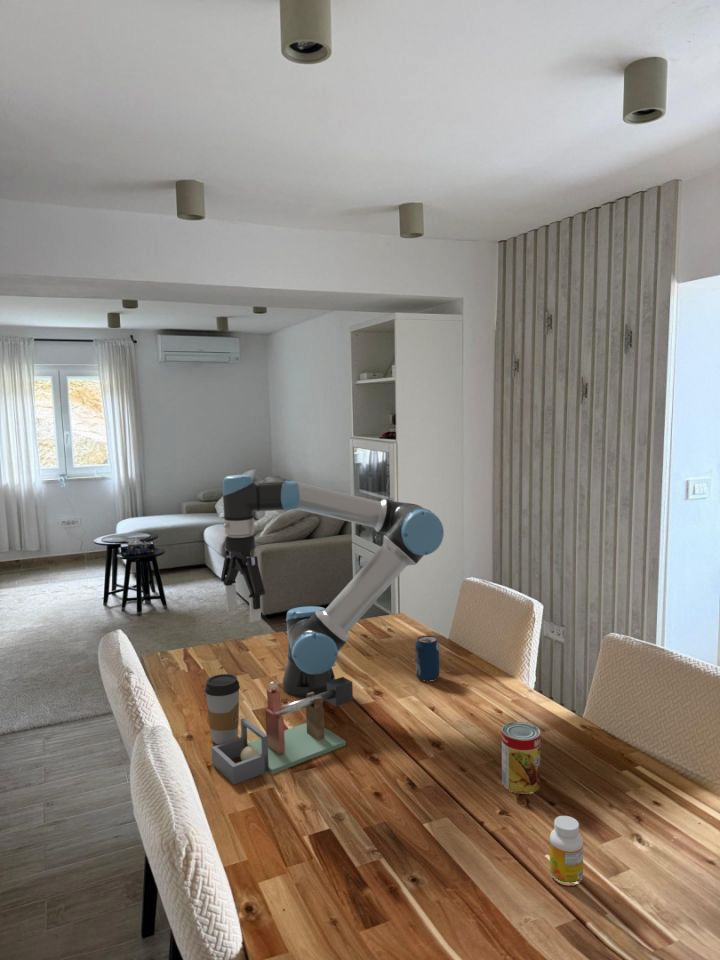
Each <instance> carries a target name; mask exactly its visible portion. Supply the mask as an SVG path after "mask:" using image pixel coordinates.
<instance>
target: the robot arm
mask: <svg viewBox="0 0 720 960" xmlns="http://www.w3.org/2000/svg"><path fill="white" fill-rule="evenodd" d="M222 498H223V501H222V503H223V515H224V516H223V517H224V518H223V519H224V524H223V528H224V534H225V535H226V536H225V538H224V540H225V541H224V543H225V550H224V559H223V566H222V571H221V575H220V582H223V585H224V586H225V587H224V588H225V602H226V603H225V607H226V610H227V611H231V610H235V609H238V603H237V602H238V601H237V584H236V583H237V581H236V578H237V577H238V574H239V573H240V575H242V576H243V578H244V580H245V583H246V586H247V589H248V591H249V595H248V601H249V603H248V605H249V622H250V623H254V622H258V621H261V620H262V612H261V609H262V608H261V596H263V595H265V594H266V591H265V588H264V582H263V580H262V575H261V572H260V567H259V561H258V556H256V555H255V556H252V555H251V552H252V551H253V550H254V549H256V542H255V541H256V540H255V539H256V538H255V535H254V533H255V516H254V512H266V511H267V512H268V511H286V512H287V511H290V510H300V511H304V512H307V513H312V514H315V515H320V516H324V517H327V518H328V517H329V518H333V519H337V520H342V521H345V522H350V523H354V524H359V525H362V526H367V527H371V528H373V529H374V530H375V532H378V533H380V534H384V535H383V544H382V545H381V546H380V547H379V549H378V550H377V551H376V552H375V553H374V554H373V556H371V558H369V560H368V561H367V563H365V565H364V566H363V567H361V568H360V570H359V571H358V572H357V574H355V575H354V576H353V578H352V579H351V580H350V581H349V582H348V583H347V584H346V585H345V587H344V588H343V589H342V590H341V591H340V592H339V593H338V595H337V596H336V597H335V598H334V599H333V600H332V601H331V602H330V603H329V604H328V606H327V607H326V608H325V607H322V606H317V605H316V606H311V605H310V606H300V607H294V608H291V609H289V610H288V611H287V612H286V618H285V621H286V630H287V631H286V634H287V659H288V660H287V664H286V667H285V671H284V675H283V677H282V689H283V690H284V691H285V693H288V694H290V695H294V696H297V697H307V696H306V694H307V693H310V692H314V694H315V695H317V694H320V693H323V692H326V691H327V682H328V681H331V680H335V679H336V676H335V673H334V670H333V667H334V666H335V664H336V662H337V660H338V655H339V652H340V650H341V649H342V648H343V647H344V645H346V644H347V642H348V640H349V638H348V637H349V631H351V629H352V628H353V627H354V626H355V624H357V623H358V621H360V619H361V618H362V617H363V616H364V615H365V613H366V612H367V611H368V610H369V609H370V608H371V607H372V606H373V605H374V603H375V602H376V601H377V600H378V599H379V597H381V596H382V595H383V593H384V592H385V591H386V590H387V589H388V588H389V587H390V586H391V584H392V583H394V582H395V580H396V579H397V578H398V577H399V575H400V574H402V572H403V571H404V570H405V569H406V567H408V566H416V565H417V564H418V563H419V561H420V560H421V559H422V558H423V557H424V556H428V555H430V554H432V553H435V552H436V551H437V550H438V549H439V547H440V546H441V545H442V542H443V539H444V535H445V533H444V526H443V523H442V521H441V519H440V518H439V516H437V515H436V514H435V513H434V512H432V511H431V510H430V509H427V508H424V507H423V506H421V505H418V504H415V503H410V502H402V501H401V502H400V501H394V500H390V499H386V498H385V499H381V500H380V501H379V500H378V501H377V500H374V499H370V498H367V497H361V496H358V495H354V494H353V495H352V494H349V493H345V492H340V491H336V490H331V489H328V488H324V487H321V486H316V485H311V484H309V483H308V484H307V483H303V482H298V481H295V480H290V479H286V478H283V477H282V476H278V475H271V476H268V477H266V478H265V479H263V481H261V482H258V481H257V482H255V481H253V477H252V476H251V475H249V474H234V475H227V476H226V477H224V479H223V480H222Z"/></svg>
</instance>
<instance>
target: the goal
mask: <svg viewBox="0 0 720 960" xmlns="http://www.w3.org/2000/svg"><path fill="white" fill-rule="evenodd" d="M248 730H250V731H251V732H252V733H253V734H255V735H256V736H257V737H258V738H260V739H261V742H262V754H260V755H258V756H255V757H252V758H249V759H247V760H244V761H239V762H236V763H235V762H234V761H233V760H234V759H237V758H239V757H240V758H241V752H242V750H243V749H244V748H245V747H248ZM240 735H241V736H240V737H237V739H234V740H231V741H228V742H225V743H222V744H216V745H214V746H211V763H212V765H213V766H214V767H215V769H217V770H218V771H219V772H220V773H221V774H222V775H224V777H226V779H227V780H229V781H230V783H231V784H233V786H234V785H237V784H240V783H243V782H245V781H248V780H249V779H253V778H255V777H257V776H260V775H263V774H266V773H268V772H269V763H268V738H267V735H266V732H265V733H264V732H263V731H262V730H261V729H259V728H258V727H257V726H255V724H253V723H251V722H250V721H249V720H248V719H246V718H245V717H244V718H241V719H240Z"/></svg>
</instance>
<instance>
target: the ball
mask: <svg viewBox="0 0 720 960" xmlns="http://www.w3.org/2000/svg"><path fill="white" fill-rule="evenodd" d="M255 756H258V751H257V749H256V748H254V747H252V746H248V747H245V748H244V749H243V750H242V752H241V756H240V760H241V761H244V760H247V759H249V758H252V757H255ZM241 761H240V762H241Z"/></svg>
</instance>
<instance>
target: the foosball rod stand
mask: <svg viewBox="0 0 720 960" xmlns="http://www.w3.org/2000/svg"><path fill="white" fill-rule="evenodd" d="M278 688H279V684H278V682H277V681H273V680H272V681H271V682H269V683H268V689H267V690H266V694H267V696H266V697H267V700H266V701H267V708H266V709H265V727H266V728H265V730H266V732H265V734H266V735H267V738H268V746H269V747H270V748H272V749H273V750H274V751H275V752H277V753H278V754H279V755H281V754H284V753H285V740H284V731H285V720H284V719H285V718H284V715H287V714H290V713H293V712H296V711H299V710H302V709H306V707H308V706H311V705H314V698H317V697H320V696H321V697H322V703H323V702H327V703H329V704H331V705H332V706H334V707H335V708H336V707H340V706H342V705H346V704H348V703H351V702H353V701H354V696H353V689H354V688H353V680H349V679H348V678H346V677H344V676H341V677H338V678H335V680H331V681H328V682H327V691H326V692H323V693H320V694H317V695H314V696H311V697H308V698H307V697H305V698H302V699H300V700H296V701H293V702H290V703H287V704H284V705H282V706H281V701H282V700H281V691H280V690H279V689H278Z"/></svg>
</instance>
